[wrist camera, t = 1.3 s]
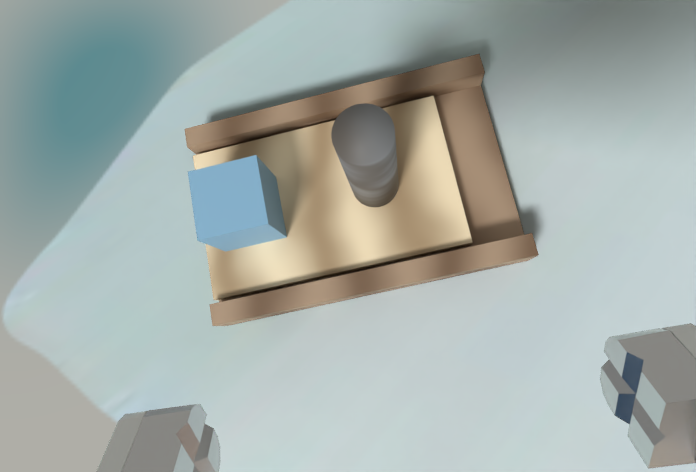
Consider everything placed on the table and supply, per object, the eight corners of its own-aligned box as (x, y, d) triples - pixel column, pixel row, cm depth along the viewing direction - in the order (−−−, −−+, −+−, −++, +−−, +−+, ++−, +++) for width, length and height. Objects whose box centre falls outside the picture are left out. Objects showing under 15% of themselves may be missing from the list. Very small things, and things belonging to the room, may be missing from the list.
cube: (276, 177, 37) (256, 154, 33) (287, 237, 36) (268, 224, 32) (216, 191, 38) (187, 171, 33) (225, 251, 37) (197, 240, 32)
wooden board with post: (432, 101, 38) (442, 13, 27) (470, 244, 36) (497, 210, 25) (198, 159, 40) (120, 98, 29) (218, 300, 37) (141, 290, 26)
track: (474, 72, 39) (479, 53, 36) (528, 260, 36) (538, 255, 33) (199, 141, 41) (184, 129, 38) (226, 325, 38) (212, 325, 35)
